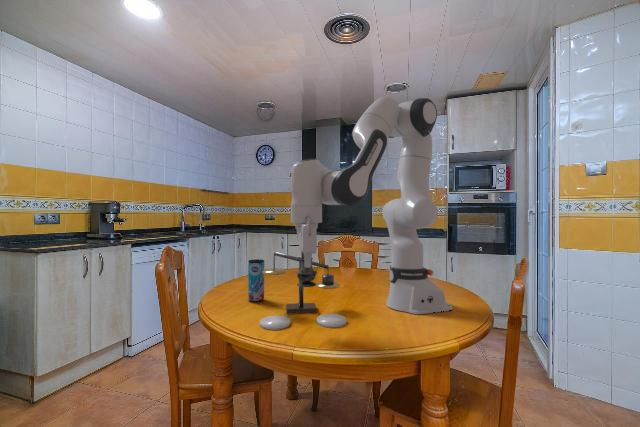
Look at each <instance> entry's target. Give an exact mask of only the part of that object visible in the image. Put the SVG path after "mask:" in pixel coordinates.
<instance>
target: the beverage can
mask: <svg viewBox="0 0 640 427" xmlns="http://www.w3.org/2000/svg"><path fill="white" fill-rule="evenodd" d="M264 269H265V260H264V259H250V260H248V272H247V274H248V275H247V279H248V280H247V281H248V282H247V299H248V302H250V303H261V302H263V301H264V300H265V274H263V273H262V270H264Z"/></svg>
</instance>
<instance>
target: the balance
mask: <svg viewBox="0 0 640 427" xmlns="http://www.w3.org/2000/svg"><path fill="white" fill-rule="evenodd" d="M276 257H280V258H284V259H287V260H291V261H296V262H298V271H299V270H300V269H301V260H300V258H301V257H297V256H292V255H290V254H286V253H282V252H277V251H274V252H273V268H264V270H262V273H263V274H264V275H267V276H269V275H271V276H278V275H285V274H286V273H287V269H284V268H278V267H276V266H275V264H276V263H275V262H276ZM312 266H314V267H319V268H322V269H326V270H327V273H325V274H322V276H321V281H318V282H316V283H315V284H316V285H315V286H316V288H319V289H324V290H326V289H327V290H329V289H330V290H333V289H338V288H340V283H338V282H335V279H334V278H335V276H334V274H330V273H329V270H330V268H329V265H327V264H323V263H322V262H321V263H320V262H315V261H313V260H312ZM300 282H303V281H300V280H299V279H298V283H300ZM304 288H305V287H300V286H298V303H297V302H296V303H285V310H286V313H285V314H287V315H288V314H289V315H290V313H292V314H316V313H317V311H318V309H317V305H316V302H304V293H305V292H304Z"/></svg>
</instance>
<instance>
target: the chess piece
mask: <svg viewBox="0 0 640 427" xmlns="http://www.w3.org/2000/svg"><path fill="white" fill-rule="evenodd" d="M300 250H301V249H300ZM300 255H301V257H299V258H300V260H301V269H300V270H299V269H298V270H297V271H296V274H297V279H298V281H299V280H300V281H303V282H300V283H299V282H298V283H297V287H299V286H300V287H304V288H312V287H315V286H316V284H317V283H315V282H314V280H315V279H316V276H317V274H318V272H317V271H316V270H314V268H313V265H312V261H313V260H314V258H313V257H312V258H311V267H310V268H306V267H305V266H304V254H303V252H302V250H301V254H300Z"/></svg>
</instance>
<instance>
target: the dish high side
mask: <svg viewBox="0 0 640 427" xmlns="http://www.w3.org/2000/svg"><path fill="white" fill-rule="evenodd" d="M290 326H291V318H289V317H288V316H283V315H270V316H266V317H263V318H261V319H260V320H259V327H260V328H262V329H264V330H269V331H277V330H283V329H286V328H287V329H288V327H290Z"/></svg>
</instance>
